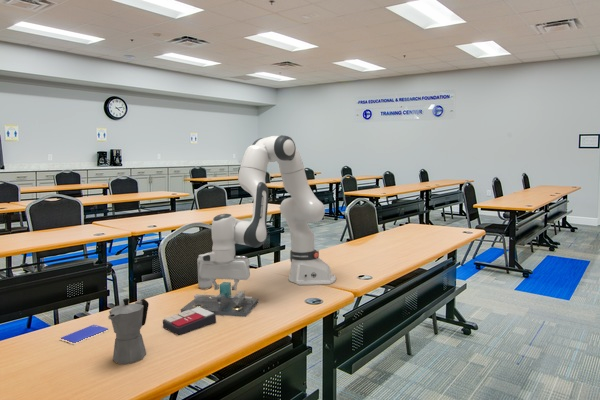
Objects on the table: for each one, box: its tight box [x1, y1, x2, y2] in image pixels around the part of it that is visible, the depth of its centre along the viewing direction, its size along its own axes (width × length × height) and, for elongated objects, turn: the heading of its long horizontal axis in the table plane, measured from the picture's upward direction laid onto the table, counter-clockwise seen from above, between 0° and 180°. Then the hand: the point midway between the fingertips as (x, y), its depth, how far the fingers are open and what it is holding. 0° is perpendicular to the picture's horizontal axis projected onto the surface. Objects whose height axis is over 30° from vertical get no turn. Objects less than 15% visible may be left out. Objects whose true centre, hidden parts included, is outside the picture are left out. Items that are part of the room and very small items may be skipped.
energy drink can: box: [196, 253, 213, 290], centre depth 195 cm, size 6×6×15 cm
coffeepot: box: [107, 298, 149, 365], centre depth 128 cm, size 15×9×18 cm, turn 159°
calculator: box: [162, 307, 217, 336], centre depth 152 cm, size 11×4×15 cm
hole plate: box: [180, 290, 260, 318], centre depth 169 cm, size 26×16×6 cm, turn 79°
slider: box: [217, 281, 232, 306], centre depth 169 cm, size 3×9×7 cm, turn 169°
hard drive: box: [60, 324, 109, 343], centre depth 145 cm, size 2×8×12 cm
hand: (225, 289), depth 171 cm, fingers open, 6 cm apart
